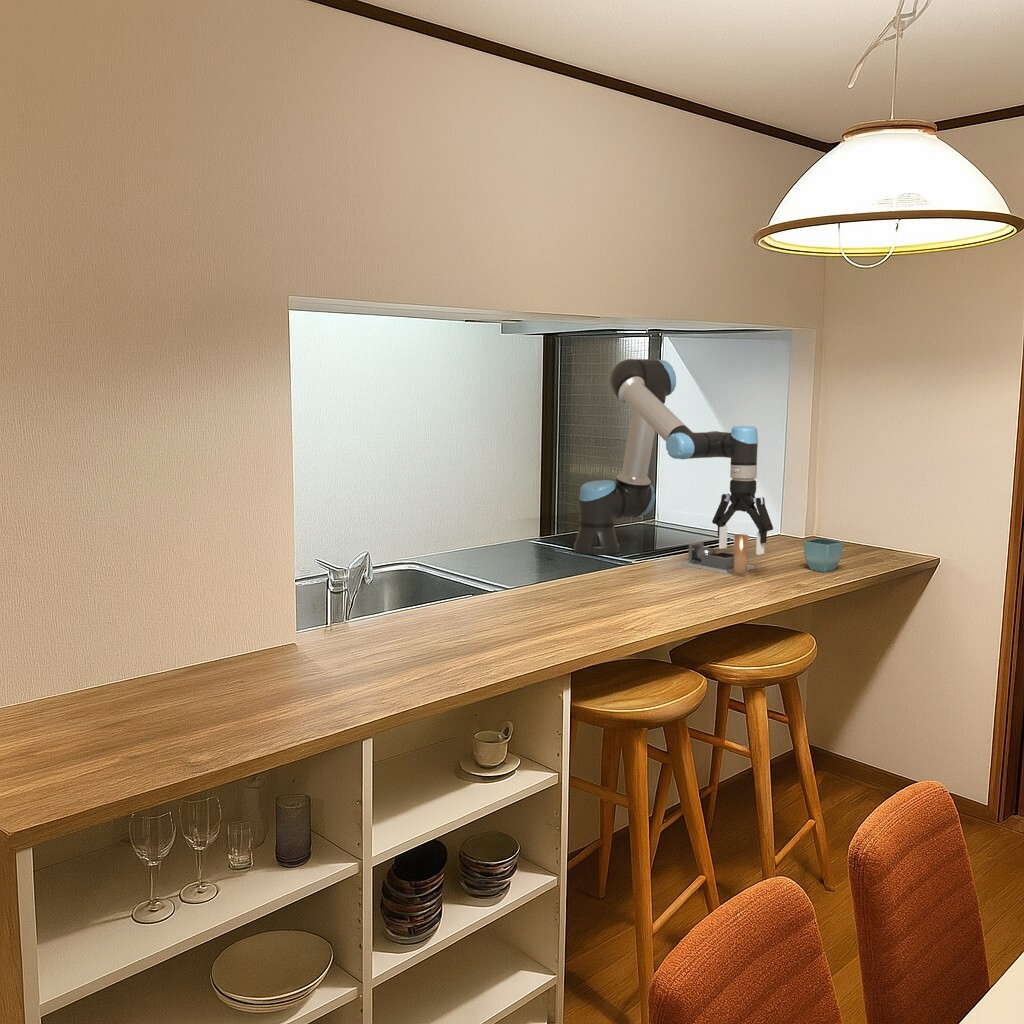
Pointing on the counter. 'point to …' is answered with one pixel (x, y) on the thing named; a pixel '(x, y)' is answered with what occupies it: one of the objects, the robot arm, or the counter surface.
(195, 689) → the counter surface
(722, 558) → the dark grey holder base
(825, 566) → the flower pot
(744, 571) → the pipe stub
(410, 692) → the counter surface
